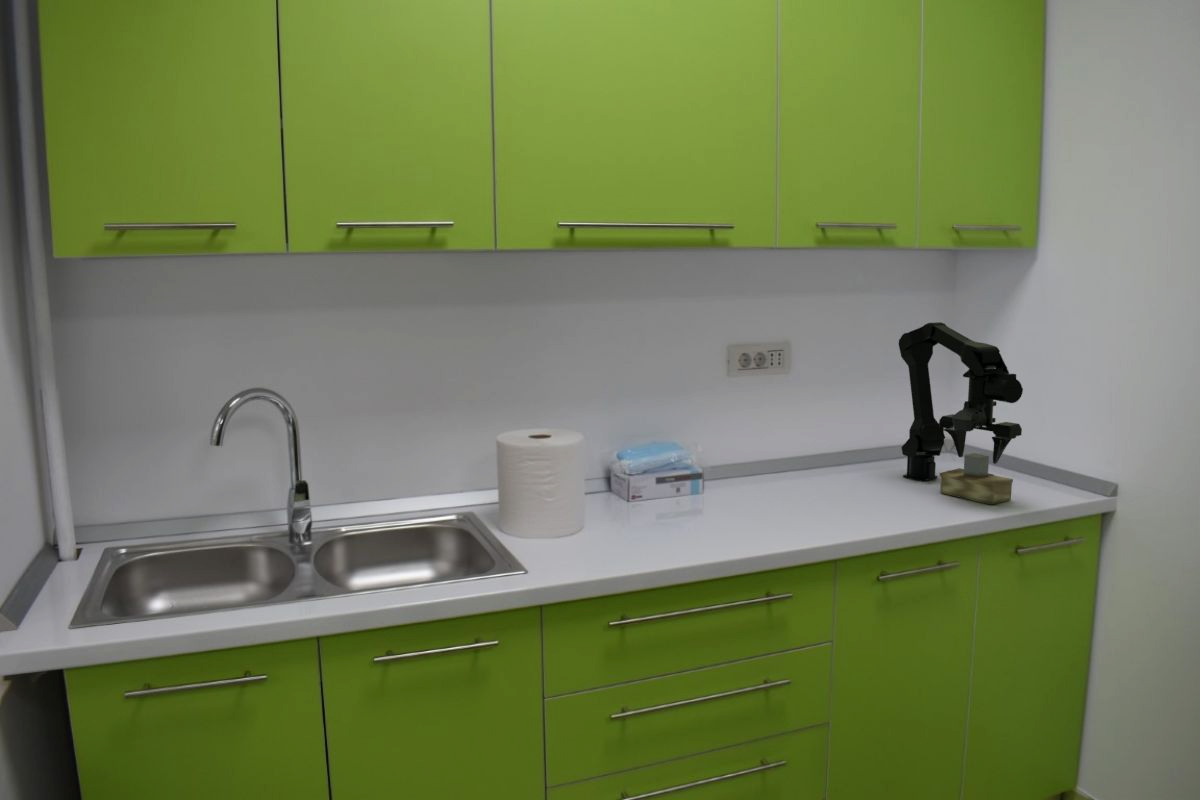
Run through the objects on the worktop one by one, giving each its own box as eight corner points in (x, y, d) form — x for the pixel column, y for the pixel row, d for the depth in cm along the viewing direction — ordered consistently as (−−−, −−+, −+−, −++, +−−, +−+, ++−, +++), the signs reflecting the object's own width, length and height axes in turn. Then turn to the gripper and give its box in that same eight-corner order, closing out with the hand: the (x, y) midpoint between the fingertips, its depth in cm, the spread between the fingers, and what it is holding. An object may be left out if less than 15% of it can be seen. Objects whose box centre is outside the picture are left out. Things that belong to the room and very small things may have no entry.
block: (963, 474, 216) (964, 455, 215) (973, 472, 218) (974, 453, 217) (978, 478, 212) (979, 458, 212) (987, 475, 215) (989, 455, 214)
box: (940, 492, 219) (941, 476, 219) (959, 487, 224) (959, 471, 223) (992, 504, 208) (993, 487, 207) (1010, 499, 212) (1011, 482, 212)
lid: (938, 476, 218) (939, 472, 218) (959, 471, 223) (959, 467, 223) (992, 487, 207) (992, 484, 207) (1013, 482, 212) (1013, 478, 211)
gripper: (927, 396, 215) (924, 458, 217) (998, 405, 200) (994, 471, 202) (953, 392, 221) (950, 452, 224) (1024, 400, 206) (1020, 465, 208)
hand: (977, 460), depth 214 cm, fingers open, 9 cm apart
